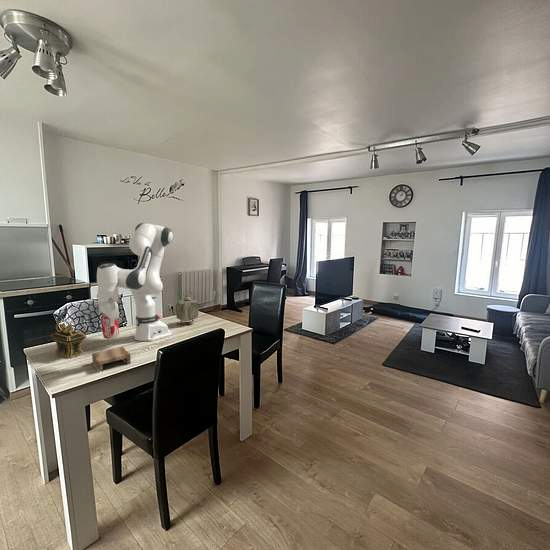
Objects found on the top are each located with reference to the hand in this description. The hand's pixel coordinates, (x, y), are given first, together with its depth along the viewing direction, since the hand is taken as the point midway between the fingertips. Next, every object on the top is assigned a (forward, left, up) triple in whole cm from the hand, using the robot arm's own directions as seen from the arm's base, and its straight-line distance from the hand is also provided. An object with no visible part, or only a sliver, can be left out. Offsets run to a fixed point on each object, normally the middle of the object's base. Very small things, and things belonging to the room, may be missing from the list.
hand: (109, 324), depth 142 cm
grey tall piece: (-60, -36, -21) cm, 73 cm away
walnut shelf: (0, 0, -21) cm, 21 cm away
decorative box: (+14, -29, -21) cm, 38 cm away
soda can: (-1, 0, -7) cm, 7 cm away
